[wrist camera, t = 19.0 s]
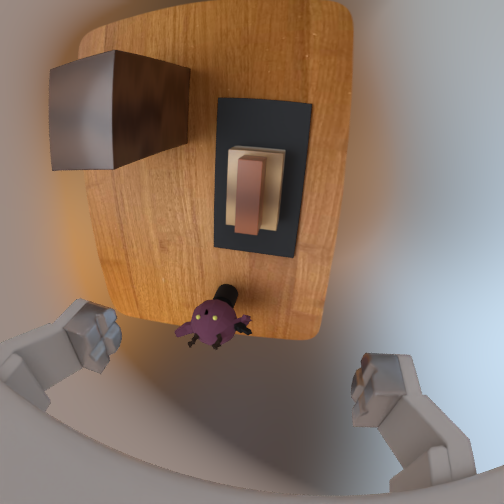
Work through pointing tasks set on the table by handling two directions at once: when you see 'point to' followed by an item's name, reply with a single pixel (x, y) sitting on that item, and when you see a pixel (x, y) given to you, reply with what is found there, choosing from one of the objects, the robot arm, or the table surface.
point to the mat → (264, 136)
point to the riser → (115, 110)
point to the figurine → (216, 319)
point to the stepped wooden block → (254, 188)
